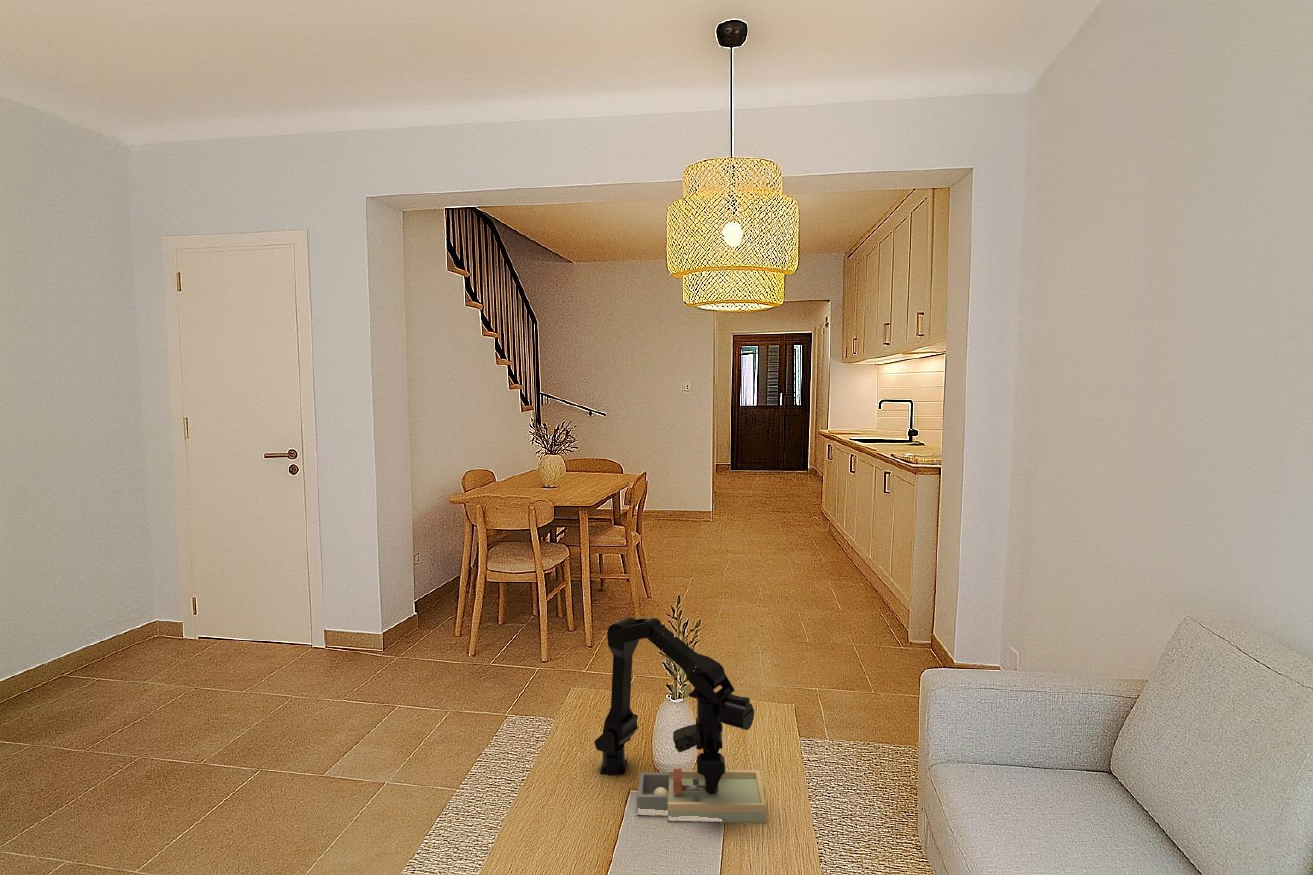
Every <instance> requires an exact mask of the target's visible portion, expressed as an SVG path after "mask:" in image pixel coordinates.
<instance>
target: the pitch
mask: <svg viewBox="0 0 1313 875" xmlns="http://www.w3.org/2000/svg"><path fill="white" fill-rule="evenodd" d="M668 773H669V792H668V816H671V817H679V816H699V817H708V818H719V819H722V821H723V822H722V823H741V824H742V823H747V824H748V823H749V824H750V823H752V824H754V823H755V824H757V823H758V824H761V823H763V824H764V823H765V824H766V823H767V804H766V798H765V794H764V788H763V782H762V779H761V773H760V770H758V769H756V770H754V769H751V770H749V769H748V770H745V769H744V770H739V769H738V770H737V769H733V770H732V769H730V770H729V769H728V770H727V769H725V773H724V774H723V775H722V777H721V779H720V781H719V791H718V792H717V793H715V794H708V793H707V792H706V791H682V794H673V769H669V770H668ZM682 785H705V777H704V776H703V775H701V774H698V773H697V769H682ZM668 816H667V817H668Z"/></svg>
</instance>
